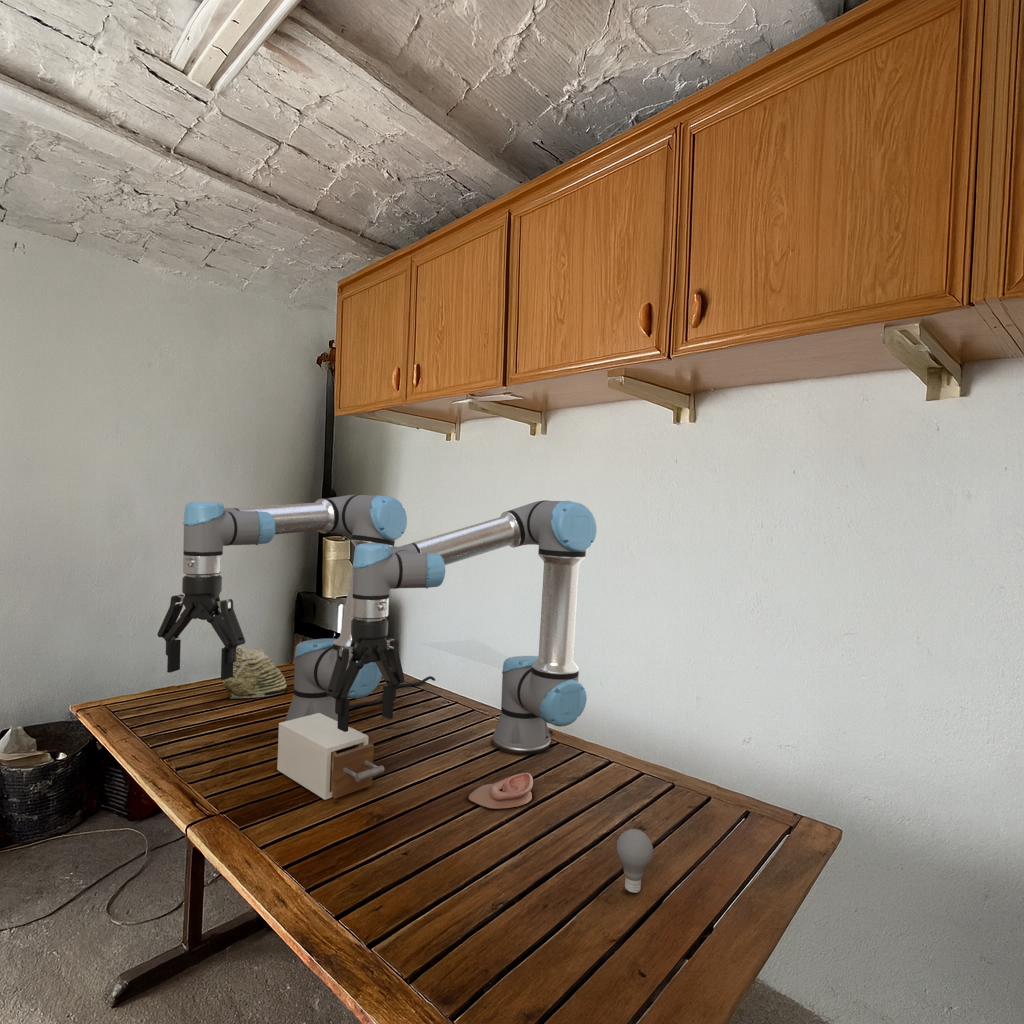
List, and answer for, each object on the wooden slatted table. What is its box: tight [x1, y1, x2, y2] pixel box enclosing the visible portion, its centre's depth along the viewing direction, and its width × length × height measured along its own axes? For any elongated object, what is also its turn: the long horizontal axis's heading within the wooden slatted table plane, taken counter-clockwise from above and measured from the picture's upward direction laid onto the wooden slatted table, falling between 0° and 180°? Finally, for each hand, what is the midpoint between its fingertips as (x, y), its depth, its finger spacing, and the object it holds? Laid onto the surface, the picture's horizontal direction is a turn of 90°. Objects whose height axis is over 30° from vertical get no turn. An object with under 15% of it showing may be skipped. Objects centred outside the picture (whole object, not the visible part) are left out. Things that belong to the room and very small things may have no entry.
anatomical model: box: [468, 772, 534, 810], centre depth 137 cm, size 13×4×12 cm
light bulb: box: [615, 828, 654, 894], centre depth 106 cm, size 6×6×10 cm
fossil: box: [222, 646, 288, 699], centre depth 198 cm, size 9×18×15 cm, turn 132°
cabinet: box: [276, 713, 369, 801], centre depth 143 cm, size 20×10×11 cm, turn 49°
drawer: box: [330, 743, 386, 800], centre depth 139 cm, size 25×9×9 cm, turn 48°
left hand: (199, 674), depth 134 cm, fingers open, 13 cm apart
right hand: (365, 723), depth 132 cm, fingers open, 10 cm apart
